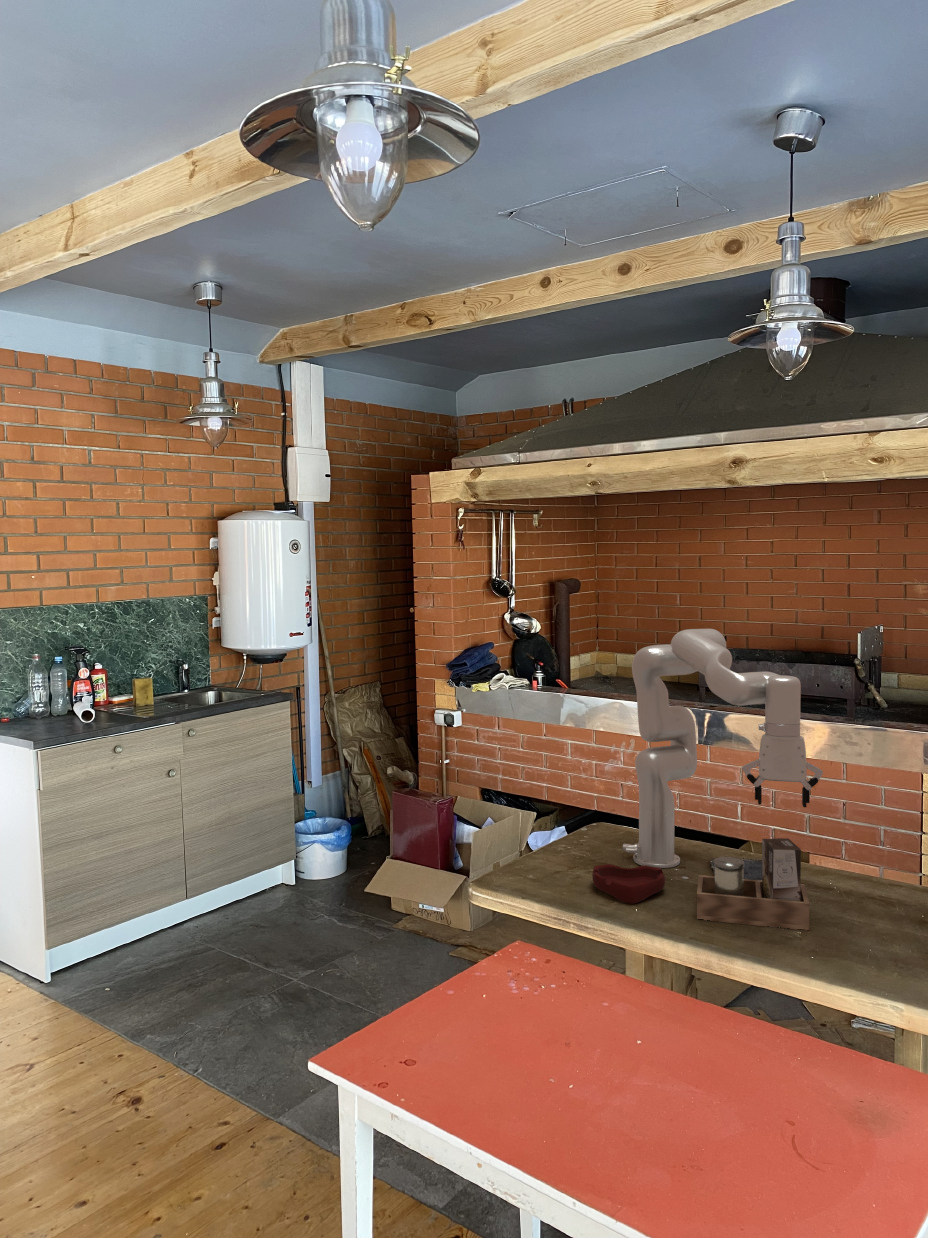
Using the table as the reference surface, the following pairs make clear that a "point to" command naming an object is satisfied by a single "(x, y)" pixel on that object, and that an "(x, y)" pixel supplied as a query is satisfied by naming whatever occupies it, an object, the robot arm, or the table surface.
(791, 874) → the coffee box
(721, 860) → the tea tin
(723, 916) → the caddy
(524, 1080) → the table surface
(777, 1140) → the table surface
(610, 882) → the ashtray
